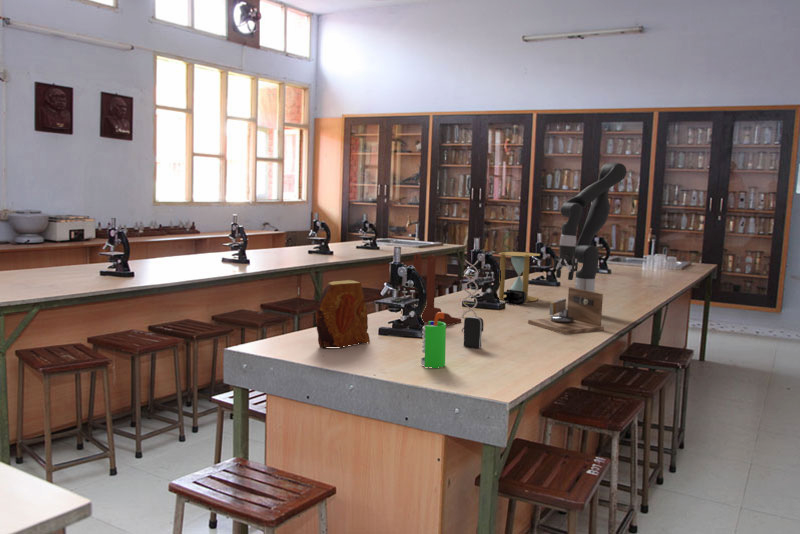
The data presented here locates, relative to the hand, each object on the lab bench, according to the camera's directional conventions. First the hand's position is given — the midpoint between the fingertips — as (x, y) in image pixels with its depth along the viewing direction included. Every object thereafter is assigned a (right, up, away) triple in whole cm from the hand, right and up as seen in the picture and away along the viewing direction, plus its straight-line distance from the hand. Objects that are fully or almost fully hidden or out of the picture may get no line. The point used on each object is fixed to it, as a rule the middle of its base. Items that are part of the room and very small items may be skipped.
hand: (564, 278), depth 336 cm
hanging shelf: (-64, -18, -20) cm, 70 cm away
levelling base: (-6, -20, -28) cm, 35 cm away
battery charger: (-51, -24, -71) cm, 91 cm away
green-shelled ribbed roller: (-67, -27, -100) cm, 123 cm away
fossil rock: (-100, -24, -75) cm, 127 cm away
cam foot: (-9, -19, -27) cm, 34 cm away
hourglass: (-14, -12, +47) cm, 50 cm away
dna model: (-50, -21, -45) cm, 70 cm away
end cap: (-19, -14, +32) cm, 39 cm away
